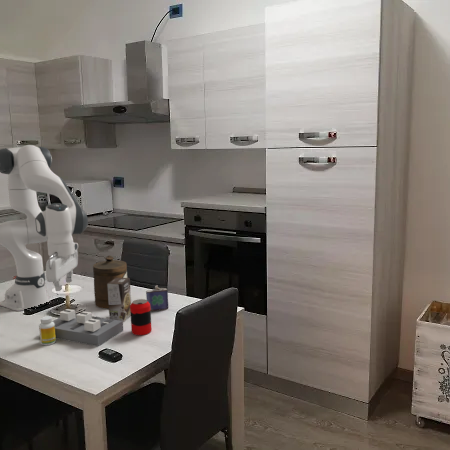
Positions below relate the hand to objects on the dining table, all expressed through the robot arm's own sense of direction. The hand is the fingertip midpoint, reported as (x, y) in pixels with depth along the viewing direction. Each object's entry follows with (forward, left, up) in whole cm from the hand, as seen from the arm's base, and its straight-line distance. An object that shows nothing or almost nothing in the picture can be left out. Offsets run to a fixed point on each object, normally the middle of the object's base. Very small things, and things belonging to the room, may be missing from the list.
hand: (64, 286), depth 177 cm
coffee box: (+5, +25, -21) cm, 33 cm away
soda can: (+21, +16, -21) cm, 34 cm away
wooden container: (-10, +39, -21) cm, 45 cm away
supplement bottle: (-5, -5, -21) cm, 22 cm away
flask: (+14, +39, -21) cm, 47 cm away
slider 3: (+9, +3, -17) cm, 19 cm away
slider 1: (-7, +8, -17) cm, 19 cm away
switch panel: (-2, +7, -21) cm, 22 cm away
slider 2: (+1, +8, -17) cm, 18 cm away
